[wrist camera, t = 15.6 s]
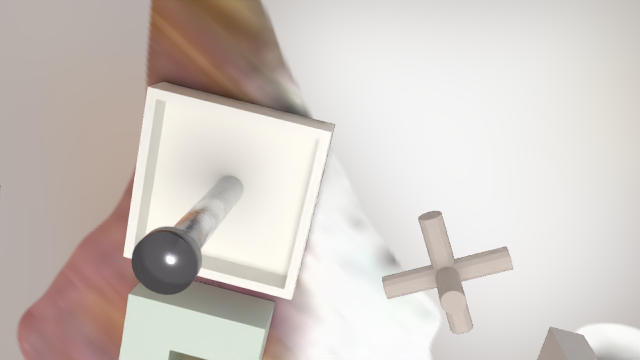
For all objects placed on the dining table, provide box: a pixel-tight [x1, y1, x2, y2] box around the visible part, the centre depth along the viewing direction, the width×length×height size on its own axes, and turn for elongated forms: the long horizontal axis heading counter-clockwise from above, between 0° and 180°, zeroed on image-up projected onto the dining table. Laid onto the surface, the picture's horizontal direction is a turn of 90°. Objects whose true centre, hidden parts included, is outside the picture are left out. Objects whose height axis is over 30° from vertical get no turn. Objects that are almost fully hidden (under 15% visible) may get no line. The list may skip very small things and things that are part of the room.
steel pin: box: [132, 175, 244, 295], centre depth 43 cm, size 4×4×16 cm
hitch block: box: [119, 281, 275, 360], centre depth 54 cm, size 12×12×5 cm
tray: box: [123, 82, 335, 300], centre depth 50 cm, size 15×15×4 cm
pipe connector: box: [382, 211, 513, 334], centre depth 47 cm, size 10×10×10 cm
